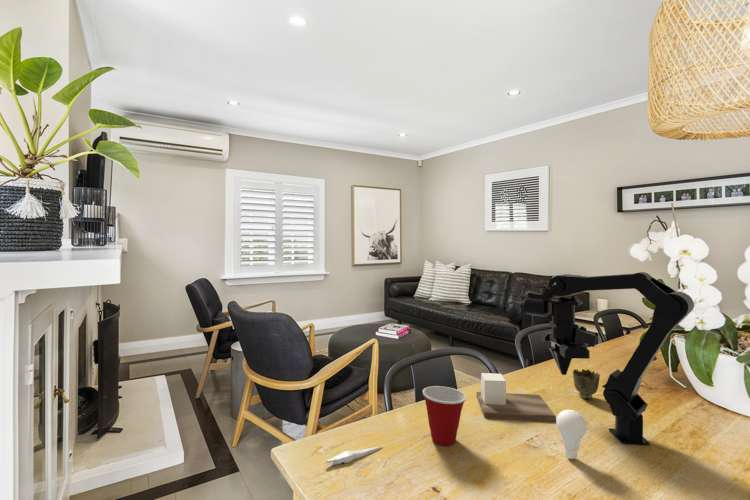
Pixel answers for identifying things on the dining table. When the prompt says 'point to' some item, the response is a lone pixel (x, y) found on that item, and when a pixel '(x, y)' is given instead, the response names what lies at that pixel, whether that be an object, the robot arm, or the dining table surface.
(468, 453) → the dining table surface
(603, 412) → the dining table surface
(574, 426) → the lightbulb
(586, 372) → the dark bronze hollow piece
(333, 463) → the white tapered spike
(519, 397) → the board
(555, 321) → the robot arm
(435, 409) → the plastic cup
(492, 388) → the off-white cube
